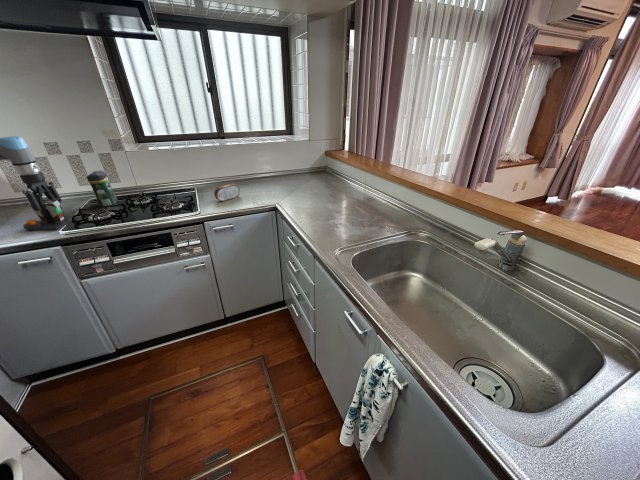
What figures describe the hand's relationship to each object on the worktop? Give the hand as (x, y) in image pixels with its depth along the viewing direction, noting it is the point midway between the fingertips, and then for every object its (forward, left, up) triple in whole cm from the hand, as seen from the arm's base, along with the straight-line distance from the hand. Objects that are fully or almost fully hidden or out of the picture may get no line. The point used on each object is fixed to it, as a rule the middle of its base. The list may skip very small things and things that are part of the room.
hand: (56, 219), depth 132 cm
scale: (0, -2, -2) cm, 3 cm away
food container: (0, 0, 0) cm, 1 cm away
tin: (+78, +27, -2) cm, 82 cm away
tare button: (-5, -7, +1) cm, 9 cm away
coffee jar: (+10, +23, -2) cm, 25 cm away
